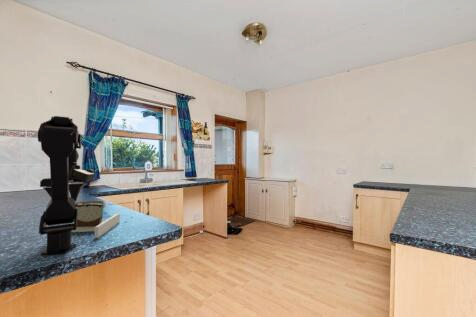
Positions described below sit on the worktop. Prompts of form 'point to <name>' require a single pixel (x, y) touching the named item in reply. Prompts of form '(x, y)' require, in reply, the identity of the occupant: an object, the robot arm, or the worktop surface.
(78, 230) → the resting mat
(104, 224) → the low wall
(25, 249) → the worktop surface
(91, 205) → the food container
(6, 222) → the worktop surface
